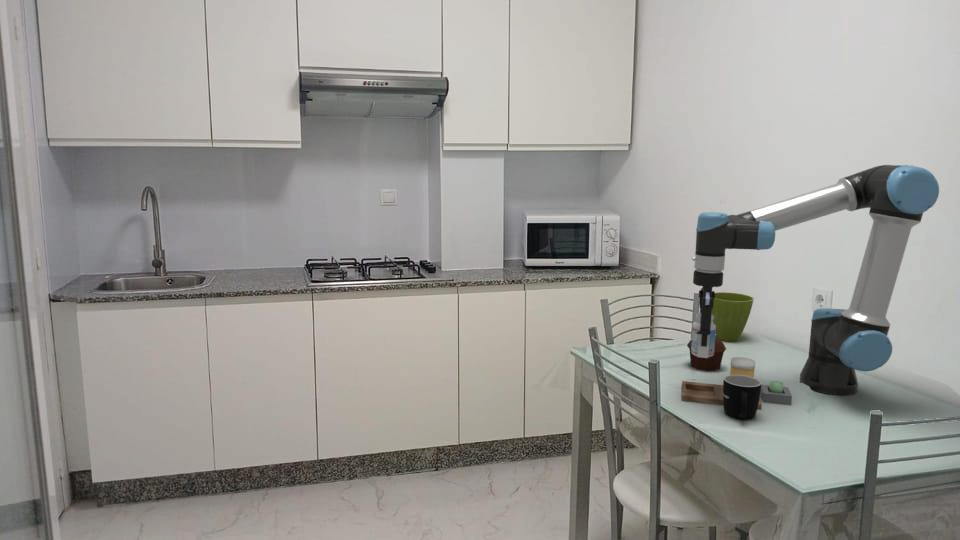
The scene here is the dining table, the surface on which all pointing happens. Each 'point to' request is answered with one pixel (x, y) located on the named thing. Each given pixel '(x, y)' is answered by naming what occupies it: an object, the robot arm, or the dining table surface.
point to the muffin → (710, 362)
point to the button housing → (776, 396)
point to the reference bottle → (742, 366)
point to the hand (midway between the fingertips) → (702, 353)
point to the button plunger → (776, 387)
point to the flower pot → (731, 315)
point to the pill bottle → (696, 336)
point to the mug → (741, 396)
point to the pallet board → (704, 393)
